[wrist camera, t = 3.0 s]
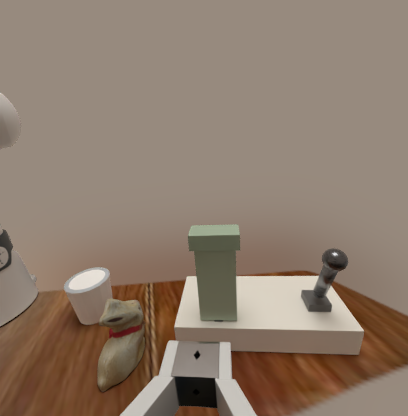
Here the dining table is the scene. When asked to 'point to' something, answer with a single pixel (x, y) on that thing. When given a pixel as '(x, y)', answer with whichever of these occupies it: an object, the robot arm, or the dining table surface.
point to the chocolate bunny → (120, 341)
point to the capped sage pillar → (216, 269)
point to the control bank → (274, 318)
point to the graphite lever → (329, 271)
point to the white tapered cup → (89, 294)
